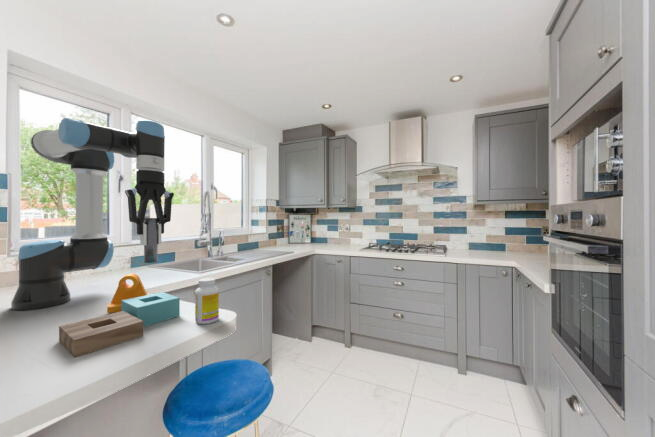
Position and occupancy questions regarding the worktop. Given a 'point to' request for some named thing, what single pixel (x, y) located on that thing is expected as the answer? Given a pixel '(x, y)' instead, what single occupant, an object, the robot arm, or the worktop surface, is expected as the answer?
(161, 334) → the worktop surface
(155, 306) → the block with rectangular slot
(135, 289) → the bracket
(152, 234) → the steel rod
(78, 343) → the socket block
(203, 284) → the supplement bottle
